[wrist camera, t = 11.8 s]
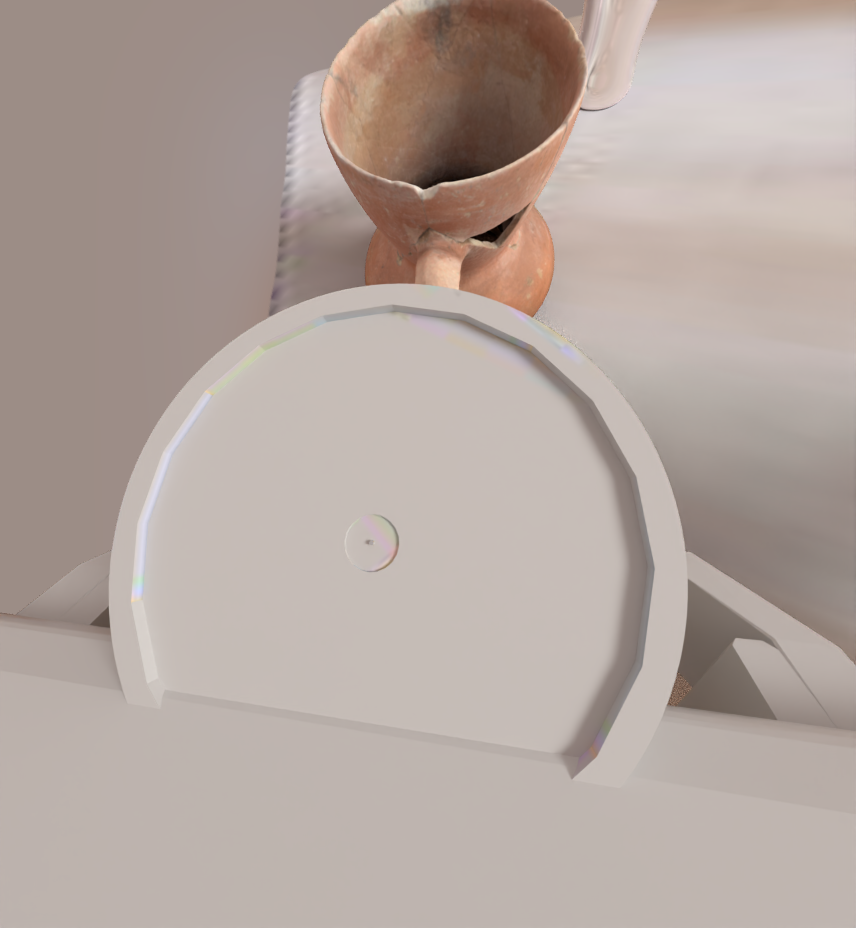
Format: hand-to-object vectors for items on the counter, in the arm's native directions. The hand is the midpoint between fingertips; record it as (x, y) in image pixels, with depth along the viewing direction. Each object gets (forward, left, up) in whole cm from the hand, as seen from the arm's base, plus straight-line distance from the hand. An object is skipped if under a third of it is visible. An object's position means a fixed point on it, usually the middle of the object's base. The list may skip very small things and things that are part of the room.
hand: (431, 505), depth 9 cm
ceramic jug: (+18, -9, -17) cm, 26 cm away
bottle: (0, 0, -10) cm, 10 cm away
